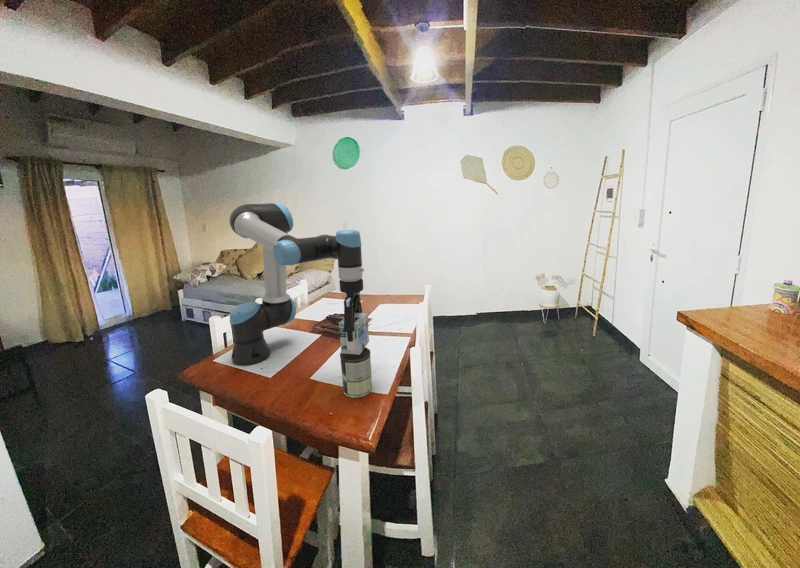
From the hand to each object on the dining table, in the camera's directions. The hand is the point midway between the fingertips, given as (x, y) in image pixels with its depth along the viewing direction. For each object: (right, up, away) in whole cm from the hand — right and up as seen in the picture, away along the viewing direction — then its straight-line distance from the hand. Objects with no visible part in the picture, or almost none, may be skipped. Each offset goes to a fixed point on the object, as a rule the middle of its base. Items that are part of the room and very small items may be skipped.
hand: (355, 341), depth 106 cm
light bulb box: (0, -2, +1) cm, 2 cm away
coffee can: (0, -18, +4) cm, 18 cm away
